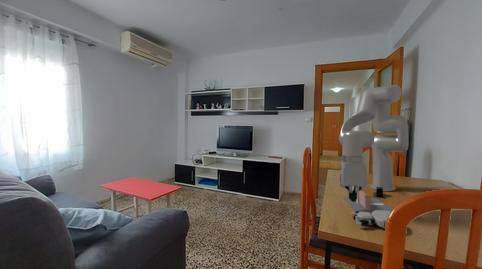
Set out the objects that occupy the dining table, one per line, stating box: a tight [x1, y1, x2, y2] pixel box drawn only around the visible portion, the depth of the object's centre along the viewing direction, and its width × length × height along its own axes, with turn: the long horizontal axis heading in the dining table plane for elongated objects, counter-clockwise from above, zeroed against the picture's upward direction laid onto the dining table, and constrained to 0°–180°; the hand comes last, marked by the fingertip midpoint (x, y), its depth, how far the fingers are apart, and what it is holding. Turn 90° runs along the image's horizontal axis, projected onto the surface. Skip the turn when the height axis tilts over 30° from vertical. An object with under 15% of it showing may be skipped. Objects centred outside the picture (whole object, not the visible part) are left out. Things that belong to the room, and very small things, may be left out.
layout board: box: [343, 196, 393, 214], centre depth 97 cm, size 19×16×1 cm
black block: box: [372, 187, 387, 200], centre depth 110 cm, size 12×7×5 cm, turn 147°
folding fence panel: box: [359, 190, 371, 211], centre depth 93 cm, size 9×1×6 cm, turn 169°
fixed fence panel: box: [352, 186, 363, 204], centre depth 102 cm, size 9×2×7 cm, turn 169°
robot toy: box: [350, 210, 391, 229], centre depth 78 cm, size 12×4×15 cm
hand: (352, 200), depth 91 cm, fingers closed
